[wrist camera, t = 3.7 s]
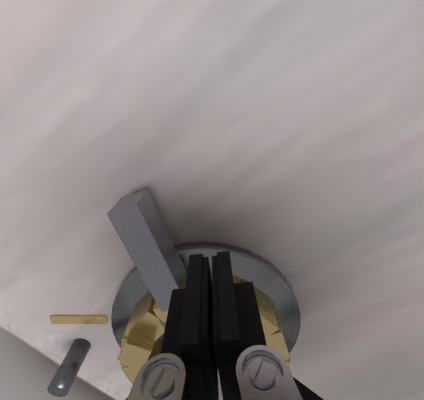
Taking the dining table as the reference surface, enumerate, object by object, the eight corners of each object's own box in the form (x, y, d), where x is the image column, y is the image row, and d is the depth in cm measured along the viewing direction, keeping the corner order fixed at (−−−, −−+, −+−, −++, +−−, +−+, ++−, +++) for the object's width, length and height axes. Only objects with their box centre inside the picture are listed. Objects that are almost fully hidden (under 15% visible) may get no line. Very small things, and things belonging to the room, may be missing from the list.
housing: (310, 356, 24) (333, 418, 20) (114, 397, 27) (93, 459, 22) (272, 217, 18) (292, 259, 14) (26, 288, 21) (-26, 343, 16)
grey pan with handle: (292, 362, 22) (306, 411, 19) (166, 387, 24) (158, 437, 21) (228, 160, 15) (232, 179, 12) (54, 217, 17) (13, 248, 13)
